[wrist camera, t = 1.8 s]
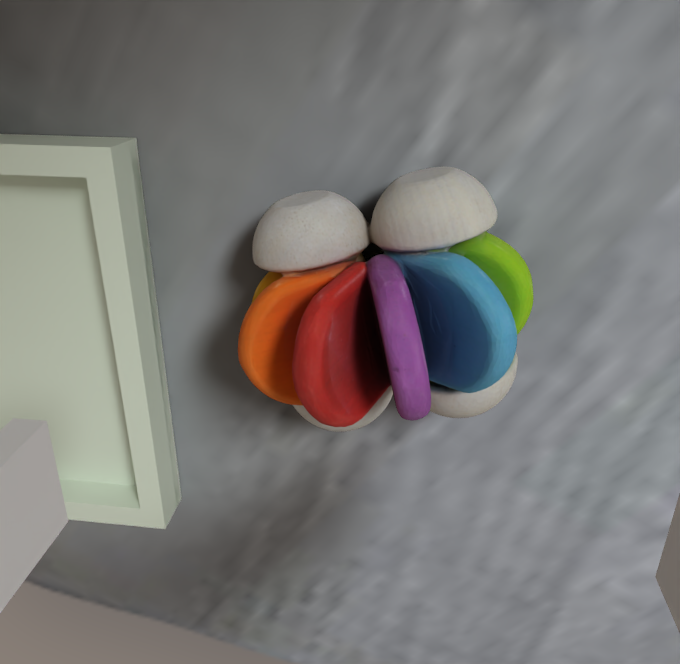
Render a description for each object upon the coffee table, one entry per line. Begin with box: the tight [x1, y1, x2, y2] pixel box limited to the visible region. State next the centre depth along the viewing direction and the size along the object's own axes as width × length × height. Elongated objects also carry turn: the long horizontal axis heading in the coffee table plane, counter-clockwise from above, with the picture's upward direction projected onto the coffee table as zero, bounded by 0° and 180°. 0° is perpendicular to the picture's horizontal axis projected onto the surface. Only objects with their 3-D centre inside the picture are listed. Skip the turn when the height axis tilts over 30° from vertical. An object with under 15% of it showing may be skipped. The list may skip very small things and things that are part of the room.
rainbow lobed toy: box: [238, 167, 533, 432], centre depth 20 cm, size 8×10×7 cm
